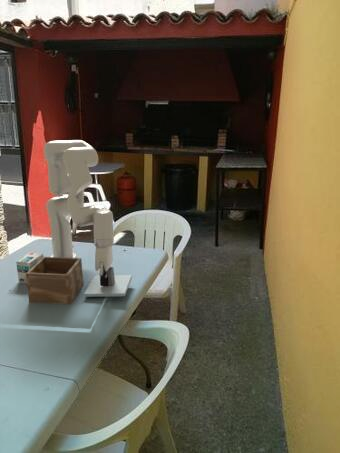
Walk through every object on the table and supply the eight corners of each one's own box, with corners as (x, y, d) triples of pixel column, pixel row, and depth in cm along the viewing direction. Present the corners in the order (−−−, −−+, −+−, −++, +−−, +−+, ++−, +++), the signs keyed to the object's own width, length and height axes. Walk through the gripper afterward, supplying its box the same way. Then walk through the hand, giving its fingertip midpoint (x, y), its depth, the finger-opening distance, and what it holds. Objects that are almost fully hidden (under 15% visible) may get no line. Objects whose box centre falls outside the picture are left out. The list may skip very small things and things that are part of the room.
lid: (95, 280, 151) (93, 261, 148) (132, 279, 150) (130, 260, 147) (84, 298, 136) (81, 278, 133) (125, 298, 135) (122, 278, 132)
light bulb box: (32, 286, 148) (29, 262, 144) (18, 284, 149) (15, 261, 145) (46, 275, 158) (43, 253, 154) (32, 273, 159) (29, 251, 155)
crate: (46, 284, 149) (43, 256, 145) (83, 286, 148) (81, 258, 144) (29, 304, 134) (25, 273, 130) (70, 306, 133) (67, 275, 129)
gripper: (100, 233, 144) (102, 273, 150) (88, 248, 129) (90, 292, 134) (118, 234, 144) (119, 274, 150) (108, 249, 128) (110, 293, 134)
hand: (105, 282), depth 142 cm, fingers closed on lid, 4 cm apart
